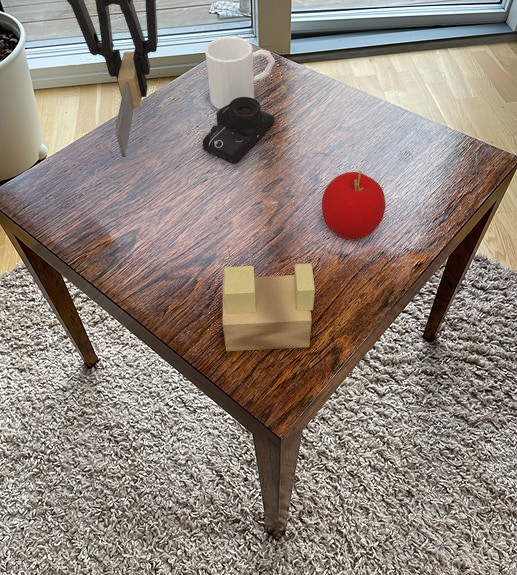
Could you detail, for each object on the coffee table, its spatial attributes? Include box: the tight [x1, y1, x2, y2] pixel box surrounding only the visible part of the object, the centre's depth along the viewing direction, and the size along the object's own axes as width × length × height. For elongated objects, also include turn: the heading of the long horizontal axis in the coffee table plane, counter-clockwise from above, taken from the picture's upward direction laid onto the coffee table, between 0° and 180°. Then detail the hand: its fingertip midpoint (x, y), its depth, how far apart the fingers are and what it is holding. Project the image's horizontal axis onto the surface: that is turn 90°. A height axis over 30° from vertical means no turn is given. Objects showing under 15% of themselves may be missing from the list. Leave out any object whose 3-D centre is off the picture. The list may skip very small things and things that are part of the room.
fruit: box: [321, 170, 386, 240], centre depth 81 cm, size 9×9×10 cm
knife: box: [114, 51, 143, 158], centre depth 85 cm, size 20×2×5 cm, turn 2°
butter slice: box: [293, 263, 316, 311], centre depth 68 cm, size 2×4×4 cm, turn 2°
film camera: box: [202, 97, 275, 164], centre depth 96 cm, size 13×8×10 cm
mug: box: [204, 36, 276, 110], centre depth 102 cm, size 8×12×10 cm
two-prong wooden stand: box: [222, 274, 313, 352], centre depth 72 cm, size 10×7×6 cm, turn 92°
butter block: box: [223, 265, 256, 314], centre depth 68 cm, size 4×4×4 cm
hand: (134, 92), depth 90 cm, fingers closed on knife, 2 cm apart
